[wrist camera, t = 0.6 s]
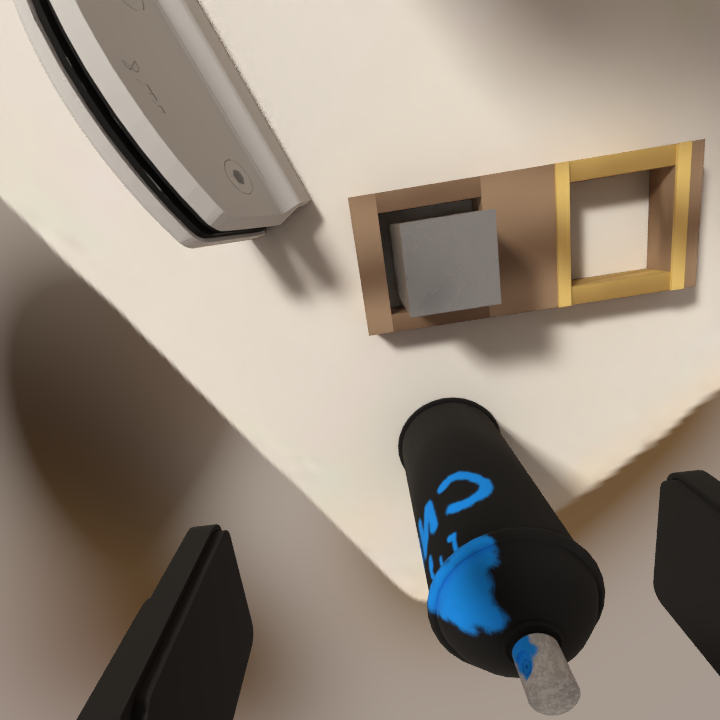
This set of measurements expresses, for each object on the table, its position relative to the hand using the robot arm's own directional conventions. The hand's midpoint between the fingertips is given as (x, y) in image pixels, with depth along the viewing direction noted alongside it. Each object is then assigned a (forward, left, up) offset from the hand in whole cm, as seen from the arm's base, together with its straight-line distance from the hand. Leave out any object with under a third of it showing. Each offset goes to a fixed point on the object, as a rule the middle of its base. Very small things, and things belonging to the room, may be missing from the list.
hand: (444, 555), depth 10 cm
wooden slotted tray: (-4, +10, -24) cm, 26 cm away
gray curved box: (-15, -10, -25) cm, 31 cm away
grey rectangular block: (-4, +4, -24) cm, 25 cm away
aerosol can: (+11, +4, -24) cm, 27 cm away
